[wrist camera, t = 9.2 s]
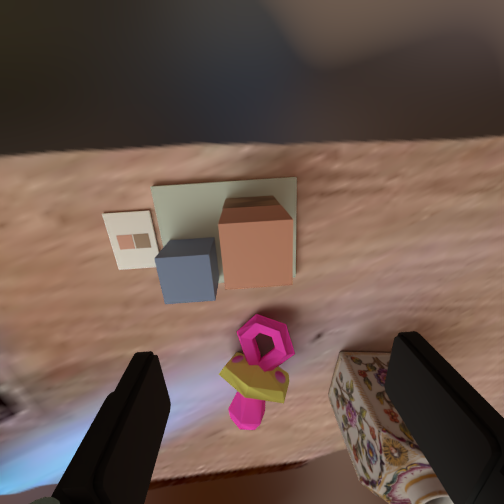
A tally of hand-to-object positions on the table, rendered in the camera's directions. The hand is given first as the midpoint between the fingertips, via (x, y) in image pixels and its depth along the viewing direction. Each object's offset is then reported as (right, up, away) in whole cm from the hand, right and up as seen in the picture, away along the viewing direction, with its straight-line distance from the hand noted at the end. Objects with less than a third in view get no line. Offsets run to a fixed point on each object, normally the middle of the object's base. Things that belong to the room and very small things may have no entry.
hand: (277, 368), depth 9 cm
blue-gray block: (-9, +4, +23) cm, 25 cm away
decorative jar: (+20, -18, +35) cm, 44 cm away
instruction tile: (-17, +6, +23) cm, 29 cm away
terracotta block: (-1, +7, +16) cm, 17 cm away
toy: (0, -12, +31) cm, 34 cm away
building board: (-4, +7, +23) cm, 24 cm away
